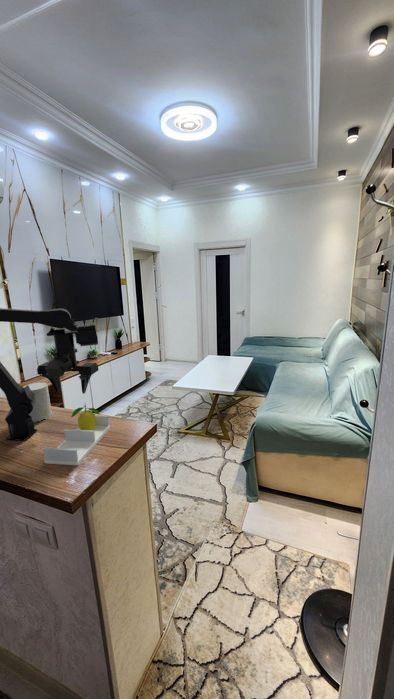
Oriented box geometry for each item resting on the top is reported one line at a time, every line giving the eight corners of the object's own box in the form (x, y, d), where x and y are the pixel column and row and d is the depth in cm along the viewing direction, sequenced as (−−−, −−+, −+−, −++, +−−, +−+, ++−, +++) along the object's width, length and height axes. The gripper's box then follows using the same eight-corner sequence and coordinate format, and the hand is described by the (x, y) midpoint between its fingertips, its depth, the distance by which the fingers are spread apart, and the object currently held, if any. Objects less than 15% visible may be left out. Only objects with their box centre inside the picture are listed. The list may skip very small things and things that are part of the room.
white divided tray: (44, 463, 80) (42, 448, 79) (82, 426, 100) (81, 414, 99) (78, 465, 79) (76, 450, 78) (110, 427, 99) (109, 415, 98)
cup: (41, 422, 104) (36, 391, 101) (22, 421, 105) (16, 389, 102) (56, 412, 111) (52, 383, 109) (38, 411, 113) (33, 382, 110)
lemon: (73, 437, 91) (69, 407, 89) (81, 427, 97) (78, 400, 95) (94, 437, 91) (91, 407, 89) (101, 428, 97) (98, 400, 94)
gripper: (21, 353, 88) (29, 401, 92) (79, 354, 86) (85, 403, 89) (44, 345, 99) (51, 388, 103) (96, 345, 96) (101, 390, 100)
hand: (71, 392), depth 98 cm, fingers open, 9 cm apart
